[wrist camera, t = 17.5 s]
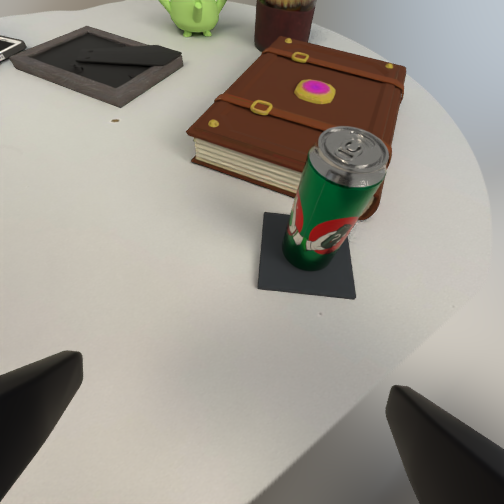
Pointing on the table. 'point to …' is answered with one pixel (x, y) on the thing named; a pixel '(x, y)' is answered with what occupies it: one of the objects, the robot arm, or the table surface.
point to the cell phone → (10, 46)
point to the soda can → (332, 194)
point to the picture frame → (100, 64)
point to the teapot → (194, 14)
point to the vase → (282, 21)
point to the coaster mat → (293, 279)
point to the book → (296, 112)
